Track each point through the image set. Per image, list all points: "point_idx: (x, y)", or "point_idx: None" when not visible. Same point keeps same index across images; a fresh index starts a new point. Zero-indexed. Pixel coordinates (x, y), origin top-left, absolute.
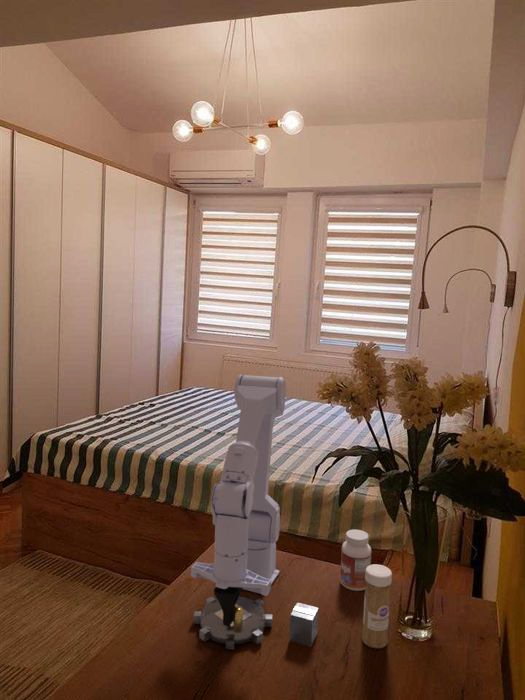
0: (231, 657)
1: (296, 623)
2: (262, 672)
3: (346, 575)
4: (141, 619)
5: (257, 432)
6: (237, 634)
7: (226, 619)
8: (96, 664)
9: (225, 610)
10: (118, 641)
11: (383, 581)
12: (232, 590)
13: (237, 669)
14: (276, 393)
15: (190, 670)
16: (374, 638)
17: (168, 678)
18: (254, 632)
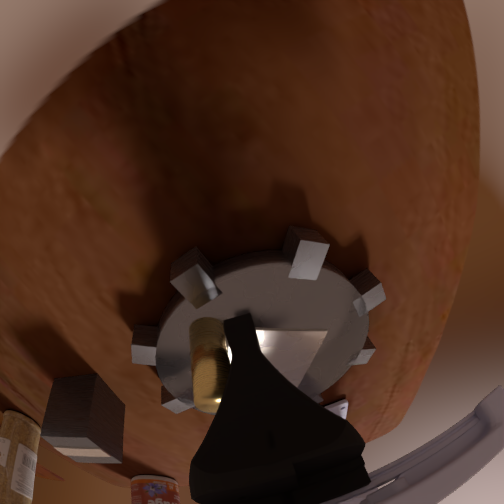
0: (157, 232)
1: (75, 419)
2: (40, 246)
3: (154, 494)
4: (473, 197)
5: None
6: (188, 314)
7: (236, 336)
8: (460, 12)
9: (248, 370)
10: (476, 99)
11: None
12: (234, 499)
13: (98, 201)
14: None
15: (239, 81)
16: (4, 424)
17: (281, 13)
18: (151, 350)
